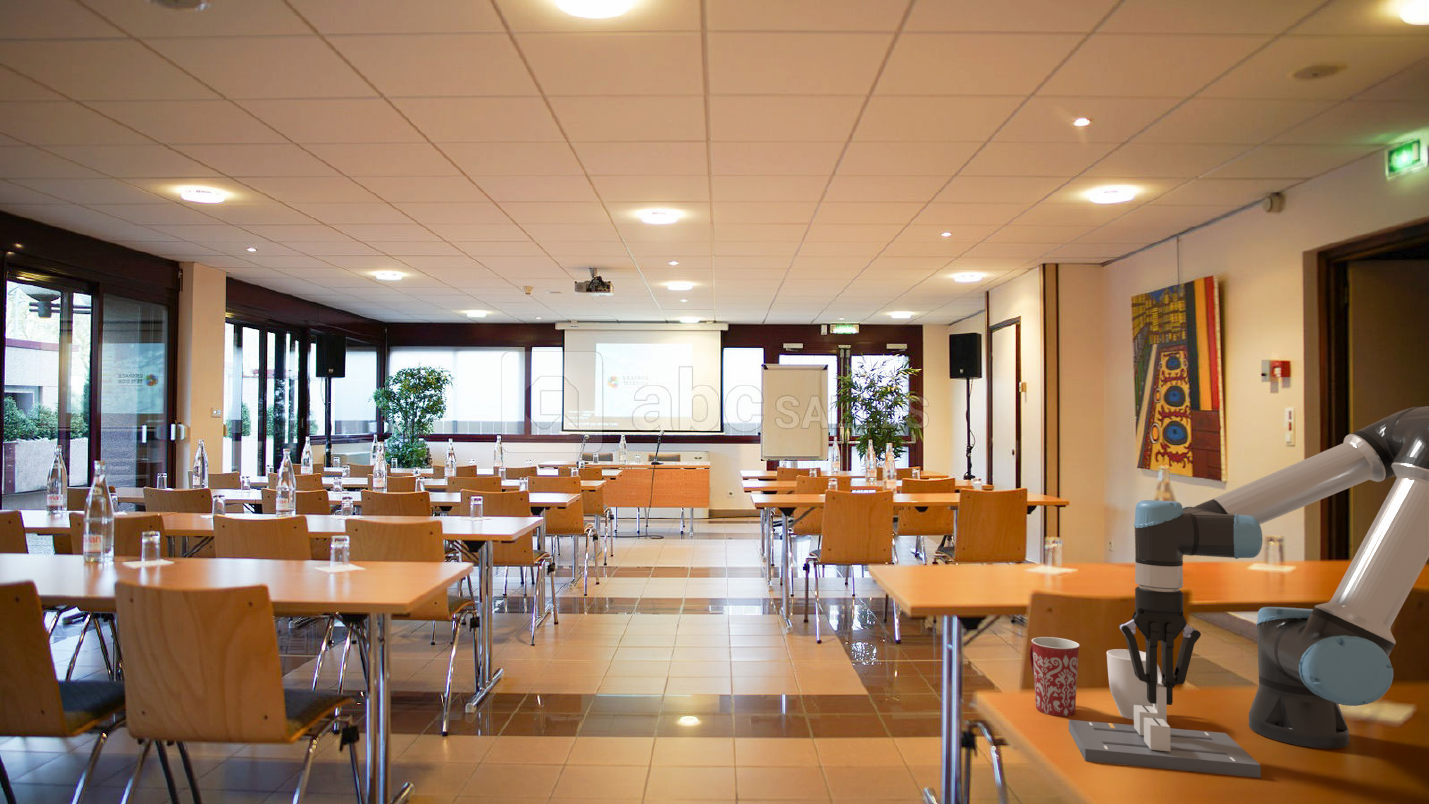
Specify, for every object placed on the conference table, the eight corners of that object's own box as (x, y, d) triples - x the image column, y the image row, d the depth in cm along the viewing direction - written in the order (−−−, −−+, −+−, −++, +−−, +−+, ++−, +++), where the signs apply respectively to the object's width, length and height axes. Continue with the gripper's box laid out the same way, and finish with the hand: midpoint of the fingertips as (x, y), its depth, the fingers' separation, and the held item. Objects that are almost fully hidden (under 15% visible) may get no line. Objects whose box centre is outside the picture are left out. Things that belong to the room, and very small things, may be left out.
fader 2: (1163, 742, 139) (1162, 718, 139) (1170, 751, 135) (1170, 726, 135) (1144, 741, 140) (1143, 716, 140) (1150, 749, 136) (1150, 724, 136)
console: (1225, 744, 144) (1225, 732, 145) (1260, 777, 130) (1260, 764, 130) (1068, 730, 151) (1068, 719, 151) (1085, 761, 136) (1085, 748, 136)
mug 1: (1090, 717, 158) (1089, 647, 159) (1046, 718, 157) (1046, 648, 158) (1054, 697, 171) (1054, 632, 172) (1014, 698, 170) (1013, 633, 170)
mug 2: (1138, 726, 154) (1135, 661, 154) (1099, 713, 162) (1096, 651, 162) (1180, 717, 158) (1177, 655, 159) (1139, 705, 166) (1137, 646, 167)
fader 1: (1152, 729, 146) (1151, 705, 146) (1158, 736, 142) (1158, 712, 142) (1133, 727, 146) (1133, 704, 147) (1139, 735, 142) (1139, 711, 143)
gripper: (1192, 586, 147) (1193, 719, 146) (1114, 582, 150) (1114, 712, 149) (1206, 593, 140) (1208, 733, 138) (1124, 589, 143) (1124, 725, 141)
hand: (1159, 722), depth 144 cm, fingers closed
